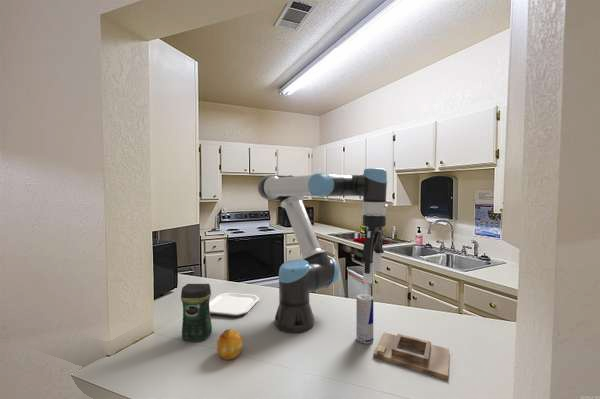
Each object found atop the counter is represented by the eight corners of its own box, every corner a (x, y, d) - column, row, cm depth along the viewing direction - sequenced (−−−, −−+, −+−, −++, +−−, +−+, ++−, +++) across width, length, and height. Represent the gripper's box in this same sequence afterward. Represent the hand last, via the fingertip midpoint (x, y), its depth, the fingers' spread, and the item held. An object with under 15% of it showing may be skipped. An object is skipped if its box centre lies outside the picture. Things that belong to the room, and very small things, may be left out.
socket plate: (373, 357, 81) (373, 347, 81) (383, 335, 93) (383, 327, 93) (448, 380, 71) (448, 369, 71) (449, 352, 83) (449, 343, 83)
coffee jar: (214, 330, 97) (213, 280, 97) (206, 342, 89) (205, 288, 89) (188, 330, 98) (187, 280, 97) (178, 342, 90) (177, 288, 89)
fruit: (207, 347, 82) (217, 329, 80) (228, 338, 89) (237, 320, 87) (221, 370, 78) (232, 351, 76) (242, 358, 85) (252, 340, 83)
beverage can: (373, 345, 87) (374, 300, 87) (356, 343, 88) (356, 299, 88) (372, 336, 93) (372, 294, 92) (356, 334, 94) (356, 292, 93)
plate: (197, 315, 110) (197, 310, 110) (222, 296, 130) (222, 291, 130) (243, 320, 105) (243, 315, 105) (262, 299, 126) (262, 295, 125)
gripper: (377, 219, 76) (375, 291, 78) (392, 212, 98) (390, 268, 99) (352, 217, 80) (350, 286, 81) (371, 211, 102) (370, 265, 103)
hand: (372, 276), depth 90 cm, fingers open, 13 cm apart
